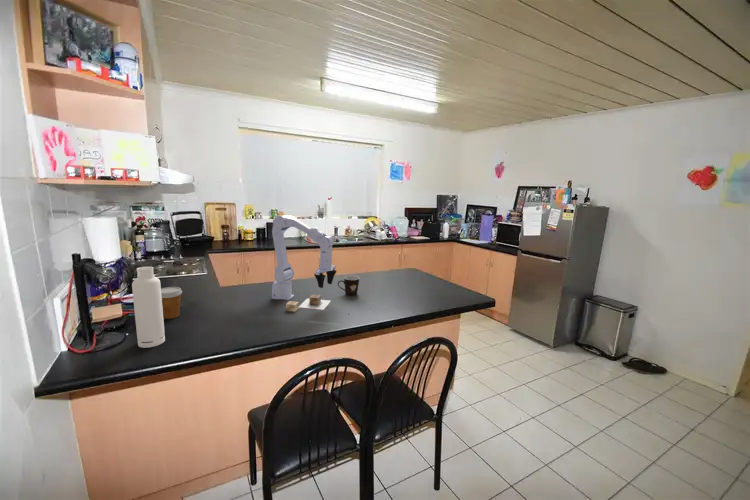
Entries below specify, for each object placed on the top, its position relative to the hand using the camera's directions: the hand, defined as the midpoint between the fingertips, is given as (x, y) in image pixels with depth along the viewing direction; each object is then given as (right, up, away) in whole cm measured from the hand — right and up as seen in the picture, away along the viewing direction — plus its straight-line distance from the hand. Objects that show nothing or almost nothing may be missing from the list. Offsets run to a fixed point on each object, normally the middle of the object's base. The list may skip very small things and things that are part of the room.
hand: (325, 285), depth 157 cm
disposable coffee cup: (-65, -11, -21) cm, 69 cm away
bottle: (-57, -16, -44) cm, 73 cm away
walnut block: (-5, -9, 0) cm, 11 cm away
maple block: (-15, -11, -8) cm, 20 cm away
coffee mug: (+10, -7, +18) cm, 22 cm away
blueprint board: (-5, -10, 0) cm, 11 cm away
